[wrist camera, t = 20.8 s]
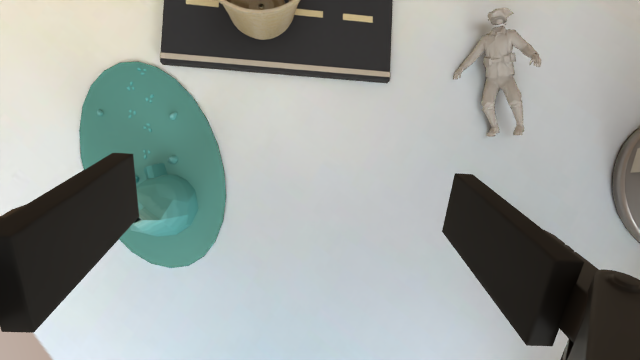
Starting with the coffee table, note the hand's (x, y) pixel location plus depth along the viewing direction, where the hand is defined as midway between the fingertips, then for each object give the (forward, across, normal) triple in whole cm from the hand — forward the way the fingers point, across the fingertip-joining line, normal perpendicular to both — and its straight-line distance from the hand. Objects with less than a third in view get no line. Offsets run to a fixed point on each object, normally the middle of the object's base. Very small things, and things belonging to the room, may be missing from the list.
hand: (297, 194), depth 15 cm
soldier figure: (+26, +20, +3) cm, 32 cm away
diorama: (+20, -13, -6) cm, 25 cm away
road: (+26, -2, +8) cm, 28 cm away
